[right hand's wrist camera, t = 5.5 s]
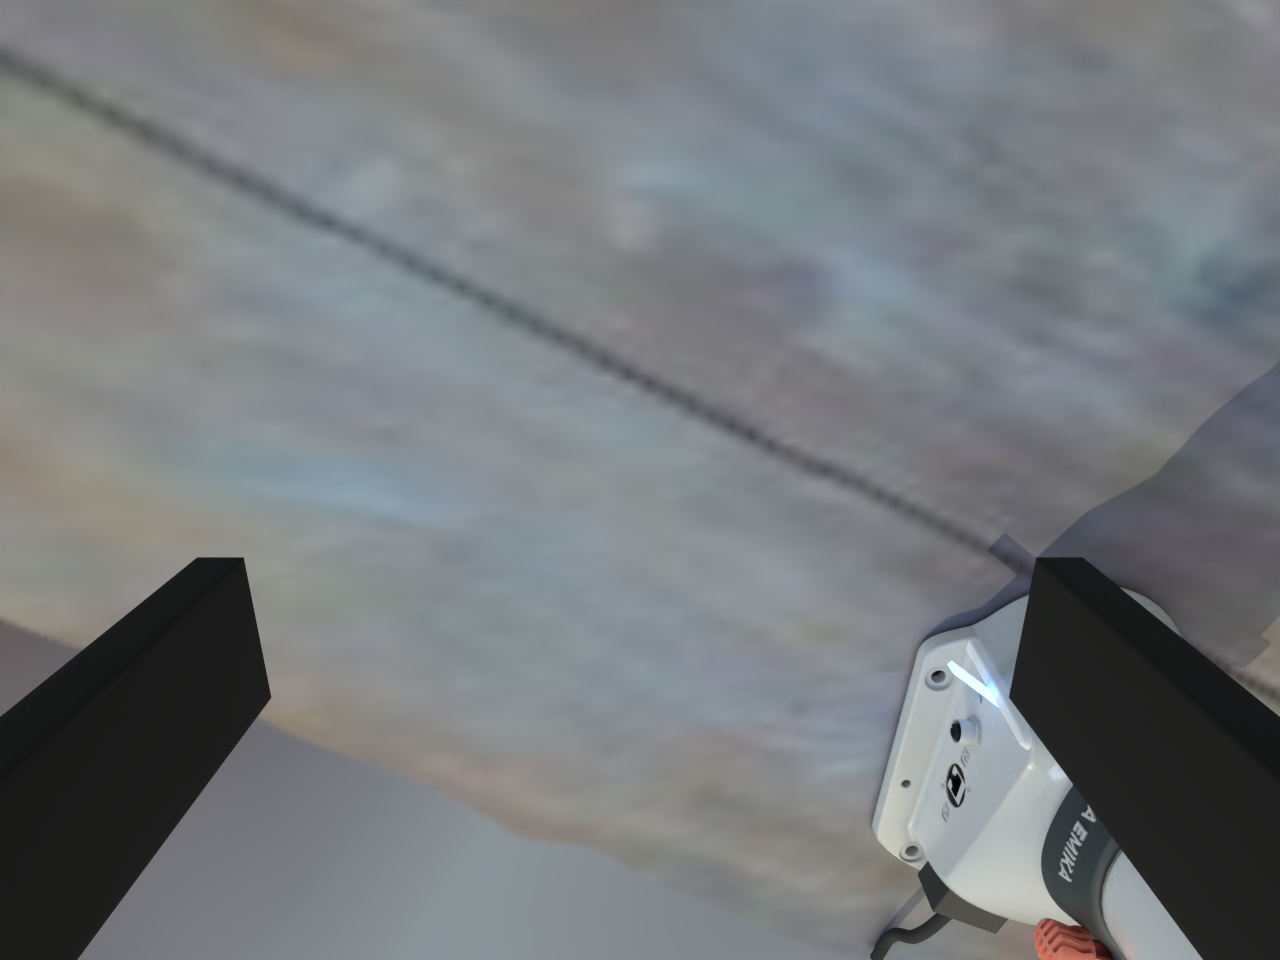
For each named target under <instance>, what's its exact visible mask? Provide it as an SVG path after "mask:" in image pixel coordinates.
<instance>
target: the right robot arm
mask: <svg viewBox="0 0 1280 960" xmlns="http://www.w3.org/2000/svg"><path fill="white" fill-rule="evenodd" d="M270 699H271V694H270V689H269V684H268V679H267V673H266V668H265V663H264V658H263V653H262V648H261V643H260V638H259V633H258V628H257V623H256V618H255V613H254V608H253V603H252V598H251V593H250V588H249V583H248V577H247V572H246V567H245V562H244V558H196V559H195V560H194V561H192V562H191V563H190V564H189V565H187V566H186V567H185V568H184V569H183V570H181V571H180V572H179V573H178V574H176V575H175V576H174V577H173V578H171V579H170V580H169V581H168V582H166V583H165V584H164V585H163V586H161V587H160V588H159V589H158V590H157V591H155V592H154V593H153V594H152V595H150V596H149V597H148V598H147V599H145V600H144V601H143V602H142V603H140V604H139V605H138V606H137V607H136V608H134V609H133V610H132V611H131V612H129V613H128V614H127V615H126V616H124V617H123V618H122V619H121V620H119V621H118V622H117V623H116V624H115V625H113V626H112V627H111V628H110V629H108V630H107V631H106V632H105V633H103V634H102V635H101V636H100V637H98V638H97V639H96V640H95V641H94V642H92V643H91V644H90V645H89V646H87V647H86V648H85V649H84V650H82V651H81V652H80V653H79V654H77V655H76V656H75V657H74V658H73V659H71V660H70V661H69V662H68V663H66V664H65V665H64V666H63V667H61V668H60V669H59V670H58V671H56V672H55V673H54V674H53V675H51V676H50V677H49V678H48V679H47V680H45V681H44V682H43V683H42V684H40V685H39V686H38V687H37V688H35V689H34V690H33V691H32V692H30V693H29V694H28V695H27V696H26V697H24V698H23V699H22V700H21V701H19V702H18V703H17V704H16V705H14V706H13V707H12V708H11V709H9V710H8V711H7V712H6V713H5V714H3V715H2V716H1V717H0V960H77V959H78V958H79V957H80V955H81V954H82V953H83V951H84V950H85V948H86V947H87V946H88V944H89V943H90V942H91V940H92V939H93V938H94V936H95V935H96V934H97V932H98V931H99V930H100V928H101V927H102V926H103V924H104V923H105V921H106V920H107V919H108V917H109V916H110V915H111V913H112V912H113V911H114V909H115V908H116V907H117V905H118V904H119V903H120V901H121V900H122V898H123V897H124V896H125V894H126V893H127V892H128V890H129V889H130V888H131V886H132V885H133V884H134V882H135V881H136V880H137V878H138V877H139V876H140V874H141V873H142V871H143V870H144V869H145V867H146V866H147V865H148V863H149V862H150V861H151V859H152V858H153V857H154V855H155V854H156V853H157V851H158V850H159V848H160V847H161V846H162V844H163V843H164V842H165V840H166V839H167V838H168V836H169V835H170V834H171V832H172V831H173V830H174V828H175V827H176V826H177V824H178V823H179V822H180V820H181V819H182V817H183V816H184V815H185V813H186V812H187V811H188V809H189V808H190V807H191V805H192V804H193V803H194V801H195V800H196V799H197V797H198V796H199V794H200V793H201V792H202V790H203V789H204V788H205V786H206V785H207V784H208V782H209V781H210V780H211V778H212V777H213V776H214V774H215V773H216V771H217V770H218V769H219V767H220V766H221V765H222V763H223V762H224V761H225V759H226V758H227V757H228V755H229V754H230V752H231V751H232V750H233V749H234V747H235V746H236V744H237V743H238V742H239V740H240V739H241V738H242V736H243V735H244V734H245V732H246V731H247V730H248V728H249V727H250V726H251V724H252V723H253V721H254V720H255V719H256V717H257V716H258V715H259V713H260V712H261V711H262V709H263V708H264V707H265V705H266V704H267V703H268V701H269V700H270ZM1009 699H1010V700H1011V701H1012V703H1013V704H1014V705H1015V707H1016V708H1017V709H1018V711H1019V712H1020V713H1021V715H1022V716H1023V717H1024V719H1025V720H1026V722H1027V723H1028V724H1029V726H1030V727H1031V728H1032V730H1033V731H1034V732H1035V734H1036V735H1037V736H1038V738H1039V739H1040V740H1041V742H1042V743H1043V745H1044V746H1045V747H1046V749H1047V750H1048V751H1049V753H1050V754H1051V755H1052V757H1053V758H1054V759H1055V761H1056V762H1057V763H1058V765H1059V766H1060V767H1061V769H1062V770H1063V772H1064V773H1065V774H1066V776H1067V777H1068V778H1069V780H1070V781H1071V782H1072V784H1073V785H1074V786H1075V788H1076V789H1077V790H1078V792H1079V793H1080V794H1081V796H1082V797H1083V799H1084V800H1085V801H1086V803H1087V804H1088V805H1089V807H1090V808H1091V809H1092V811H1093V812H1094V813H1095V815H1096V816H1097V817H1098V819H1099V820H1100V822H1101V823H1102V824H1103V826H1104V827H1105V828H1106V830H1107V831H1108V832H1109V834H1110V835H1111V836H1112V838H1113V839H1114V840H1115V842H1116V843H1117V844H1118V846H1119V847H1120V849H1121V850H1122V851H1123V853H1124V854H1125V855H1126V857H1127V858H1128V859H1129V861H1130V862H1131V863H1132V865H1133V866H1134V867H1135V869H1136V870H1137V871H1138V873H1139V874H1140V876H1141V877H1142V878H1143V880H1144V881H1145V882H1146V884H1147V885H1148V886H1149V888H1150V889H1151V890H1152V892H1153V893H1154V894H1155V896H1156V897H1157V899H1158V900H1159V901H1160V903H1161V904H1162V905H1163V907H1164V908H1165V909H1166V911H1167V912H1168V913H1169V915H1170V916H1171V917H1172V919H1173V920H1174V921H1175V923H1176V924H1177V926H1178V927H1179V928H1180V930H1181V931H1182V932H1183V934H1184V935H1185V936H1186V938H1187V939H1188V940H1189V942H1190V943H1191V944H1192V946H1193V947H1194V948H1195V950H1196V951H1197V953H1198V954H1199V955H1200V957H1201V958H1202V959H1203V960H1280V717H1279V716H1278V715H1277V714H1275V713H1274V712H1273V711H1272V710H1271V709H1269V708H1268V707H1267V706H1266V705H1264V704H1263V703H1262V702H1261V701H1259V700H1258V699H1257V698H1256V697H1254V696H1253V695H1252V694H1251V693H1250V692H1248V691H1247V690H1246V689H1245V688H1243V687H1242V686H1241V685H1240V684H1238V683H1237V682H1236V681H1235V680H1233V679H1232V678H1231V677H1230V676H1229V675H1227V674H1226V673H1225V672H1224V671H1222V670H1221V669H1220V668H1219V667H1217V666H1216V665H1215V664H1214V663H1212V662H1211V661H1210V660H1209V659H1208V658H1206V657H1205V656H1204V655H1203V654H1201V653H1200V652H1199V651H1198V650H1196V649H1195V648H1194V647H1193V646H1191V645H1190V644H1189V643H1188V642H1186V641H1185V640H1184V639H1183V638H1182V637H1180V636H1179V635H1178V634H1177V633H1175V632H1174V631H1173V630H1172V629H1170V628H1169V627H1168V626H1167V625H1165V624H1164V623H1163V622H1162V621H1161V620H1159V619H1158V618H1157V617H1156V616H1154V615H1153V614H1152V613H1151V612H1149V611H1148V610H1147V609H1146V608H1144V607H1143V606H1142V605H1141V604H1140V603H1138V602H1137V601H1136V600H1135V599H1133V598H1132V597H1131V596H1130V595H1128V594H1127V593H1126V592H1125V591H1123V590H1122V589H1121V588H1120V587H1119V586H1117V585H1116V584H1115V583H1114V582H1112V581H1111V580H1110V579H1109V578H1107V577H1106V576H1105V575H1104V574H1102V573H1101V572H1100V571H1099V570H1097V569H1096V568H1095V567H1094V566H1093V565H1091V564H1090V563H1089V562H1088V561H1086V560H1085V559H1084V558H1036V562H1035V567H1034V572H1033V577H1032V583H1031V588H1030V593H1029V598H1028V603H1027V608H1026V613H1025V618H1024V623H1023V628H1022V633H1021V638H1020V643H1019V648H1018V653H1017V658H1016V663H1015V668H1014V673H1013V679H1012V684H1011V689H1010V694H1009Z"/></svg>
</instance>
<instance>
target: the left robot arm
mask: <svg viewBox="0 0 1280 960" xmlns="http://www.w3.org/2000/svg"><path fill="white" fill-rule="evenodd" d="M1120 588H1121V589H1122V590H1123V591H1125V592H1126V593H1127V594H1128V595H1130V596H1131V597H1132V598H1133V599H1135V600H1136V601H1137V602H1138V603H1140V604H1141V605H1142V606H1143V607H1144V608H1146V609H1147V610H1148V611H1149V612H1151V613H1152V614H1153V615H1154V616H1156V617H1157V618H1158V619H1159V620H1161V621H1162V622H1163V623H1164V624H1165V625H1167V626H1168V627H1169V628H1170V629H1172V630H1173V631H1174V632H1175V633H1177V634H1178V635H1179V636H1180V637H1181V635H1180V633H1179V631H1178V629H1177V627H1176V626H1175V624H1174V622H1173V621H1172V620H1171V618H1170V617H1169V616H1168V615H1167V614H1166V613H1165V611H1163V610H1162V609H1161V608H1160V607H1159V606H1158V605H1156V604H1155V603H1154V602H1153V601H1151V600H1149V599H1148V598H1146V597H1144V596H1142V595H1140V594H1138V593H1136V592H1134V591H1131V590H1128V589H1125V588H1122V587H1120ZM1028 598H1029V595H1027V596H1024V597H1022V598H1020V599H1018V600H1016V601H1013V602H1012V603H1010V604H1008V605H1006V606H1005V607H1003V608H1001V609H1000V610H998V611H997V612H995V613H993V614H992V615H990V616H989V617H987V618H985V619H984V620H982V621H980V622H978V623H976V624H974V625H972V626H967V627H963V628H958V629H954V630H950V631H946V632H943V633H940V634H937V635H934V636H932V637H930V638H928V639H927V640H926V641H924V642H923V643H922V645H921V646H920V648H919V650H918V652H917V656H916V660H915V663H914V667H913V671H912V675H911V678H910V682H909V686H908V690H907V693H906V697H905V701H904V705H903V708H902V712H901V716H900V719H899V723H898V727H897V731H896V734H895V738H894V742H893V746H892V749H891V753H890V757H889V761H888V764H887V768H886V772H885V776H884V779H883V783H882V787H881V791H880V794H879V798H878V802H877V805H876V809H875V813H874V817H873V823H872V829H873V831H874V833H875V835H876V837H877V839H878V840H879V842H880V843H881V844H882V845H883V846H884V847H885V848H886V849H887V850H888V851H889V852H890V853H892V854H893V855H894V856H896V857H897V858H899V859H900V860H902V861H903V862H905V863H907V864H909V865H911V866H913V867H915V868H917V869H919V870H920V872H919V873H918V876H919V879H920V881H921V884H922V886H923V889H924V891H925V893H926V896H927V898H928V901H929V903H930V906H931V908H932V910H933V912H936V914H935V915H934V916H933V917H931V918H930V919H929V920H928V921H927V922H925V923H924V924H922V925H921V926H919V927H917V928H915V929H912V930H906V929H902V928H892V929H890V930H888V931H887V932H886V933H885V934H884V935H883V936H882V937H881V938H880V940H879V941H878V943H877V945H876V947H875V948H874V950H873V952H872V953H871V955H870V957H871V959H872V960H883V959H884V957H885V955H886V954H887V952H888V950H889V948H890V947H891V946H892V944H893V943H895V942H897V941H901V942H904V943H909V944H916V943H919V942H922V941H924V940H926V939H928V938H929V937H931V936H932V935H934V934H935V933H936V932H937V931H939V930H940V929H941V928H942V927H943V926H944V925H946V924H947V923H948V922H949V921H950V920H951V919H952V918H953V919H955V920H958V921H961V922H964V923H967V924H969V925H972V926H975V927H978V928H981V929H984V930H986V931H989V932H992V933H997V932H998V931H999V929H1000V928H1001V927H1002V926H1003V925H1004V923H1005V922H1006V921H1007V920H1008V919H1012V920H1015V921H1019V922H1023V923H1028V924H1032V925H1037V926H1036V929H1035V933H1034V938H1035V939H1036V941H1035V949H1036V950H1038V956H1039V958H1042V960H1203V959H1202V958H1201V957H1200V955H1199V954H1198V953H1197V951H1196V950H1195V948H1194V947H1193V946H1192V944H1191V943H1190V942H1189V940H1188V939H1187V938H1186V936H1185V935H1184V934H1183V932H1182V931H1181V930H1180V928H1179V927H1178V926H1177V924H1176V923H1175V921H1174V920H1173V919H1172V917H1171V916H1170V915H1169V913H1168V912H1167V911H1166V909H1165V908H1164V907H1163V905H1162V904H1161V903H1160V901H1159V900H1158V899H1157V897H1156V896H1155V894H1154V893H1153V892H1152V890H1151V889H1150V888H1149V886H1148V885H1147V884H1146V882H1145V881H1144V880H1143V878H1142V877H1141V876H1140V874H1139V873H1138V871H1137V870H1136V869H1135V867H1134V866H1133V865H1132V863H1131V862H1130V861H1129V859H1128V858H1127V857H1126V855H1125V854H1124V853H1123V851H1122V850H1121V849H1120V847H1119V846H1118V844H1117V843H1116V842H1115V840H1114V839H1113V838H1112V836H1111V835H1110V834H1109V832H1108V831H1107V830H1106V828H1105V827H1104V826H1103V824H1102V823H1101V822H1100V820H1099V819H1098V817H1097V816H1096V815H1095V813H1094V812H1093V811H1092V809H1091V808H1090V807H1089V805H1088V804H1087V803H1086V801H1085V800H1084V799H1083V797H1082V796H1081V794H1080V793H1079V792H1078V790H1077V789H1076V788H1075V786H1074V785H1073V784H1072V782H1071V781H1070V780H1069V778H1068V777H1067V776H1066V774H1065V773H1064V772H1063V770H1062V769H1061V767H1060V766H1059V765H1058V763H1057V762H1056V761H1055V759H1054V758H1053V757H1052V755H1051V754H1050V753H1049V751H1048V750H1047V749H1046V747H1045V746H1044V745H1043V743H1042V742H1041V740H1040V739H1039V738H1038V736H1037V735H1036V734H1035V732H1034V731H1033V730H1032V728H1031V727H1030V726H1029V724H1028V723H1027V722H1026V720H1025V719H1024V717H1023V716H1022V715H1021V713H1020V712H1019V711H1018V709H1017V708H1016V707H1015V705H1014V704H1013V703H1012V701H1011V700H1010V699H1009V694H1010V689H1011V684H1012V679H1013V673H1014V668H1015V663H1016V658H1017V653H1018V648H1019V643H1020V638H1021V633H1022V628H1023V623H1024V618H1025V613H1026V608H1027V603H1028ZM938 670H941V672H940V673H939V674H938V675H935V676H932V674H933V673H934V672H935V671H938ZM910 846H911V847H910ZM1089 933H1090V934H1091V935H1090V934H1089ZM1091 936H1092V937H1091ZM1092 938H1093V939H1092Z"/></svg>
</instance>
